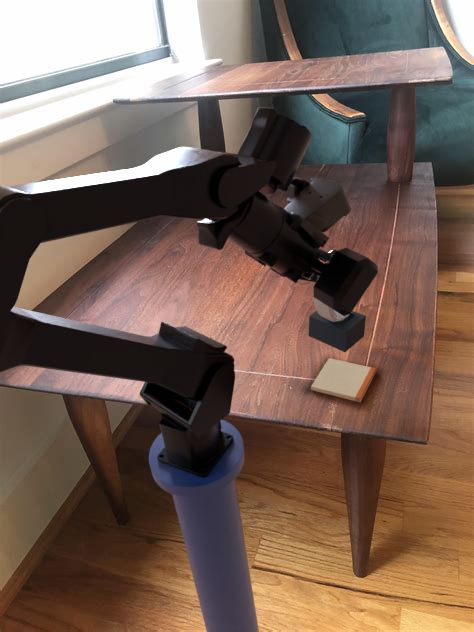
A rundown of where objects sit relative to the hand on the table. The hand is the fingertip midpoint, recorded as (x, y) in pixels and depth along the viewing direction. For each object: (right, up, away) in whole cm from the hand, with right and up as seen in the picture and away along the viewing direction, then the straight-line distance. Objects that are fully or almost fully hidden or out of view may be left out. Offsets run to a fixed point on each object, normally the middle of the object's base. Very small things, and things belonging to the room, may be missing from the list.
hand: (344, 287), depth 67 cm
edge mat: (0, -12, +2) cm, 12 cm away
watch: (0, -6, +3) cm, 7 cm away
